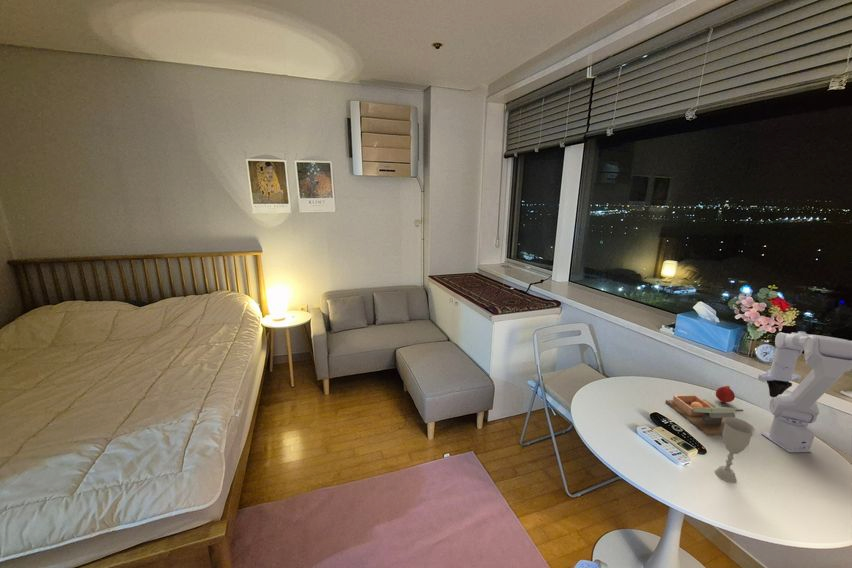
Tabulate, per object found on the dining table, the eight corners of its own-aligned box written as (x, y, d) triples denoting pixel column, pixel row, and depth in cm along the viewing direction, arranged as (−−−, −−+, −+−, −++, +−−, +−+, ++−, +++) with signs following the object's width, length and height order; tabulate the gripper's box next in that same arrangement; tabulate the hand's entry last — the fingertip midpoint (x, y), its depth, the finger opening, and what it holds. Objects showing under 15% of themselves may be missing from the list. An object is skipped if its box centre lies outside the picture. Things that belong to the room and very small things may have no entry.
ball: (696, 409, 132) (705, 414, 128) (687, 409, 132) (695, 414, 128) (698, 399, 131) (706, 405, 127) (688, 400, 131) (696, 405, 127)
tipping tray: (761, 416, 118) (758, 407, 119) (713, 417, 118) (710, 408, 119) (737, 415, 127) (734, 406, 128) (691, 416, 127) (689, 407, 128)
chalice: (743, 489, 96) (758, 436, 92) (713, 479, 99) (726, 427, 95) (737, 472, 102) (751, 421, 98) (709, 463, 106) (721, 414, 101)
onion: (718, 405, 136) (722, 387, 134) (711, 397, 141) (715, 380, 139) (735, 407, 134) (740, 390, 132) (727, 399, 140) (731, 383, 138)
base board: (752, 433, 119) (755, 421, 118) (706, 434, 119) (709, 422, 117) (704, 401, 139) (707, 390, 137) (665, 402, 138) (667, 391, 137)
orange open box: (712, 415, 128) (714, 408, 127) (690, 416, 127) (691, 408, 127) (693, 402, 136) (695, 395, 136) (672, 402, 136) (673, 395, 135)
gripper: (790, 359, 126) (780, 390, 129) (753, 359, 126) (745, 391, 129) (811, 368, 119) (801, 401, 123) (773, 369, 119) (764, 402, 122)
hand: (773, 397), depth 125 cm, fingers closed
